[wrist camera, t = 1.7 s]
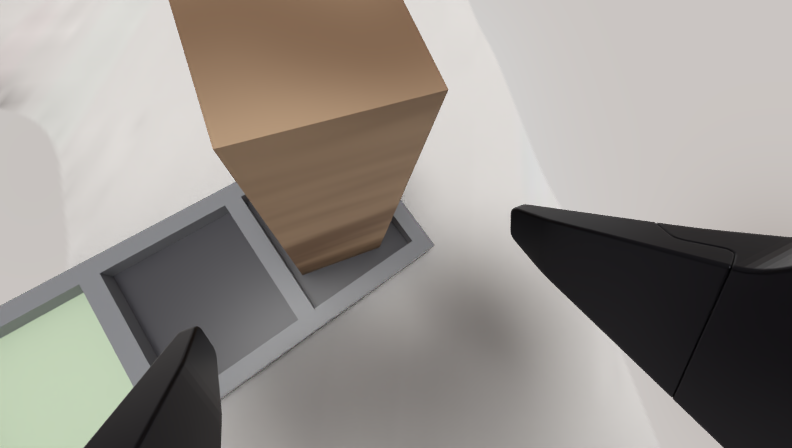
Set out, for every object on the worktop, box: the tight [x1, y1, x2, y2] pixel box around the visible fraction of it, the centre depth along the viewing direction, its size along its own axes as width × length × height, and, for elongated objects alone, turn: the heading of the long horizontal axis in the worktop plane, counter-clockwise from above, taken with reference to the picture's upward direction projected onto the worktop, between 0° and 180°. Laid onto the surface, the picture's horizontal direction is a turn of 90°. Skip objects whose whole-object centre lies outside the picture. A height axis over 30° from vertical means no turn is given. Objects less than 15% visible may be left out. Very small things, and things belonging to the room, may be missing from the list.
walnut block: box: [169, 0, 448, 275], centre depth 15 cm, size 5×5×15 cm
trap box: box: [0, 182, 434, 448], centre depth 19 cm, size 25×10×2 cm, turn 126°
